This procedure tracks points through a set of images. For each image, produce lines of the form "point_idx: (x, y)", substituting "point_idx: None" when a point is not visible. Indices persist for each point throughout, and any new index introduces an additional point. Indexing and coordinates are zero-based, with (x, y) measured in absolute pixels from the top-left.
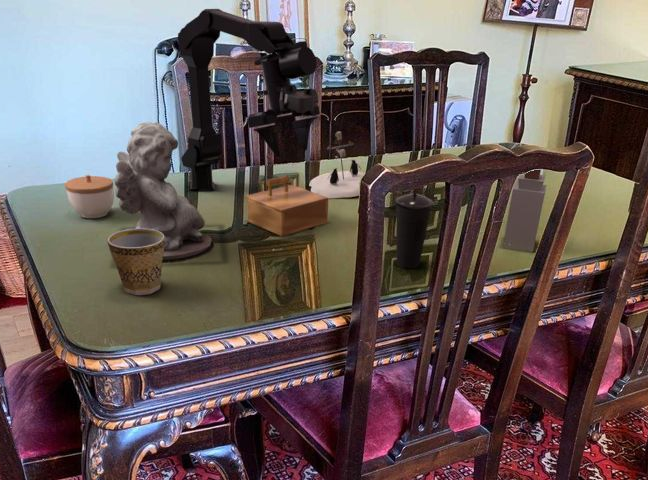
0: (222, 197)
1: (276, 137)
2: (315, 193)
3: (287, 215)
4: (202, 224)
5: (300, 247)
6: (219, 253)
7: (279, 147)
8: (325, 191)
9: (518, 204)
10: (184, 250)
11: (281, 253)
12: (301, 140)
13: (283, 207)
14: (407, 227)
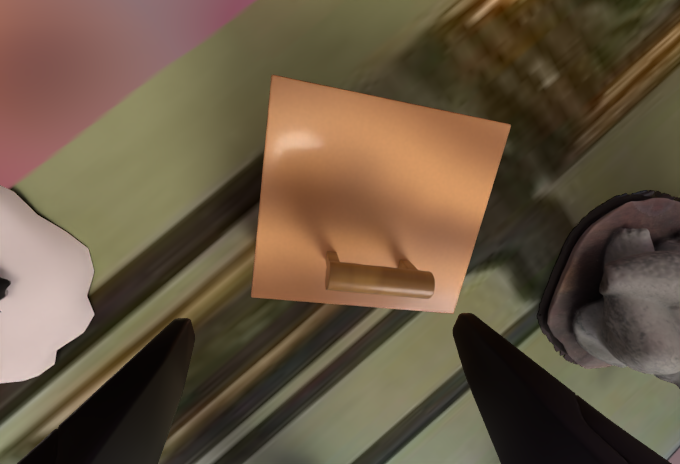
0: (323, 427)
1: (599, 437)
2: (268, 156)
3: None
4: (638, 254)
5: (500, 26)
6: (621, 171)
7: (502, 354)
8: (68, 273)
9: None
10: (676, 218)
11: (561, 44)
12: (161, 414)
13: (485, 138)
14: None
